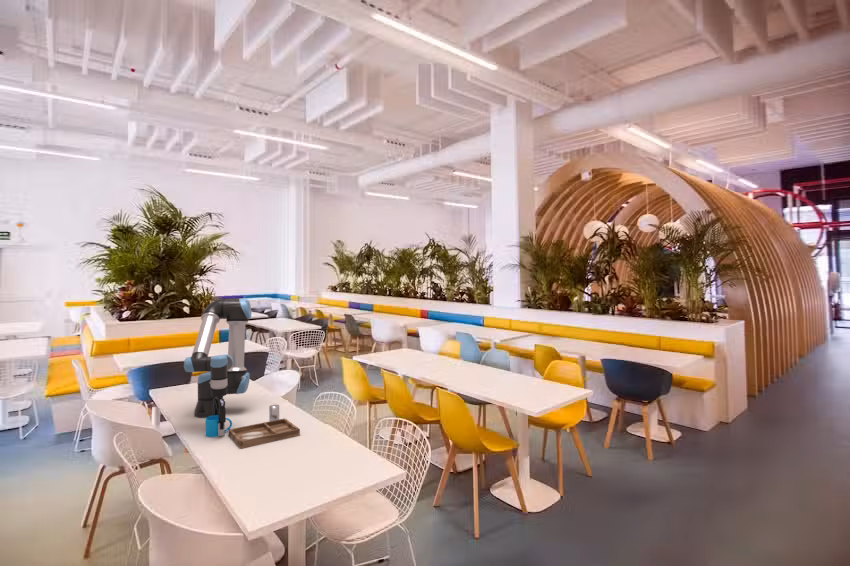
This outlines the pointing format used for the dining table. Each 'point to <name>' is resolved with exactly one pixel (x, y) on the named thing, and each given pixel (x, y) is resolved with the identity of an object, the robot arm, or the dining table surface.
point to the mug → (214, 426)
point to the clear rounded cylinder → (273, 412)
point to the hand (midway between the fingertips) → (219, 432)
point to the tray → (263, 433)
